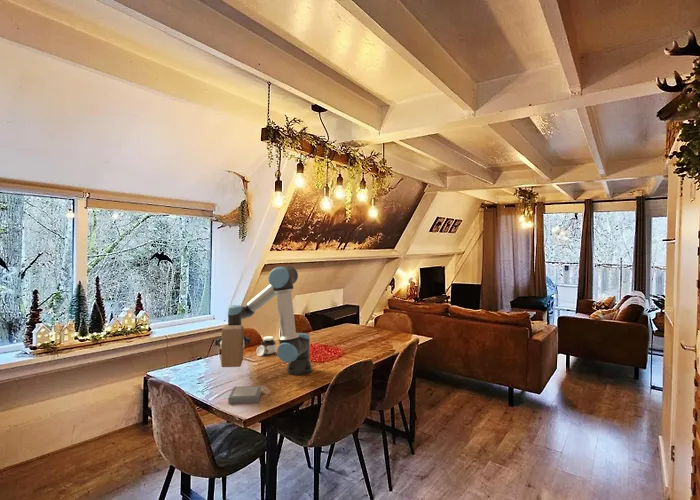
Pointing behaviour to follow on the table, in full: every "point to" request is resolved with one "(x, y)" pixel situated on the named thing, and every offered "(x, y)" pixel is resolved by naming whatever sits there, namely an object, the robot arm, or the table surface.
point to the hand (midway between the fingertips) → (232, 345)
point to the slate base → (245, 394)
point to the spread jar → (266, 346)
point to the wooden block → (232, 346)
